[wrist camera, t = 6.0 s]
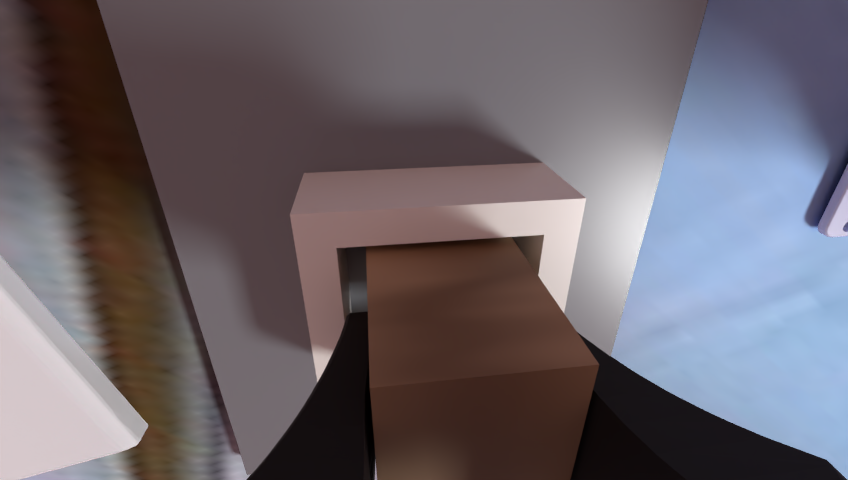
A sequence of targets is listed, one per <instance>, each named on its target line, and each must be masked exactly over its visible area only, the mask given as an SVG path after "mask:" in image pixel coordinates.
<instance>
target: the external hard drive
mask: <svg viewBox="0 0 848 480" xmlns="http://www.w3.org/2000/svg"><path fill="white" fill-rule="evenodd" d="M147 428H148V424H147V423H146V422H145V421H144V419H143V418H142V417H141V416H140V415H139V414H138V413H137V411H136V410H135V409H134V408H133V407H132V406H131V404H130V403H129V402H128V401H127V400H126V399H125V397H124V396H123V395H122V394H121V393H120V392H119V391H118V390H117V388H116V387H115V386H114V385H113V384H112V383H111V382H110V380H109V379H108V378H107V377H106V376H105V375H104V374H103V372H102V371H101V370H100V369H99V368H98V367H97V365H96V364H95V363H94V362H93V361H92V360H91V359H90V357H89V356H88V355H87V354H86V353H85V352H84V351H83V349H82V348H81V347H80V346H79V345H78V344H77V342H76V341H75V340H74V339H73V338H72V337H71V335H70V334H69V333H68V332H67V331H66V330H65V329H64V327H63V326H62V325H61V324H60V323H59V322H58V321H57V319H56V318H55V317H54V316H53V315H52V314H51V312H50V311H49V310H48V309H47V308H46V307H45V305H44V304H43V303H42V302H41V301H40V300H39V299H38V297H37V296H36V295H35V294H34V293H33V292H32V291H31V289H30V288H29V287H28V286H27V285H26V284H25V282H24V281H23V280H22V279H21V278H20V277H19V275H18V274H17V273H16V272H15V271H14V270H13V269H12V267H11V266H10V265H9V264H8V263H7V262H6V260H5V259H4V258H3V257H2V256H1V255H0V480H19V479H23V478H27V477H31V476H34V475H38V474H41V473H45V472H48V471H53V470H57V469H60V468H64V467H68V466H71V465H74V464H78V463H82V462H86V461H89V460H93V459H97V458H100V457H105V456H108V455H111V454H115V453H118V452H121V451H124V450H127V449H130V448H131V447H134V446H136V445H137V444H138V443H139V442H140V440H141V438H142V436H143V435H144V433H145V431H146V429H147Z"/></svg>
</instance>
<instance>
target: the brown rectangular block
mask: <svg viewBox="0 0 848 480" xmlns="http://www.w3.org/2000/svg"><path fill="white" fill-rule="evenodd" d="M366 266H367V303H368V340H369V376H370V396H371V408H372V420H373V432H374V444H375V456H376V468H377V480H570V479H571V475H572V471H573V467H574V463H575V459H576V455H577V451H578V447H579V443H580V439H581V435H582V431H583V427H584V423H585V419H586V415H587V411H588V407H589V403H590V399H591V396H592V392H593V388H594V384H595V380H596V376H597V372H598V368H599V363H598V362H597V360H596V359H595V358H594V356H593V355H592V353H591V352H590V350H589V349H588V347H587V346H586V344H585V343H584V342H583V340H582V339H581V337H580V336H579V334H578V333H577V331H576V330H575V329H574V327H573V326H572V324H571V323H570V321H569V320H568V318H567V317H566V315H565V314H564V313H563V311H562V310H561V308H560V307H559V305H558V304H557V302H556V301H555V300H554V298H553V297H552V295H551V294H550V292H549V291H548V289H547V288H546V286H545V285H544V284H543V282H542V281H541V279H540V278H539V276H538V275H537V273H536V272H535V270H534V269H533V268H532V266H531V265H530V263H529V262H528V260H527V259H526V257H525V256H524V255H523V253H522V252H521V250H520V249H519V247H518V246H517V244H516V243H515V241H514V240H513V239H512V237H502V238H486V239H471V240H455V241H440V242H424V243H409V244H393V245H378V246H366Z"/></svg>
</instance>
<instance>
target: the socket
mask: <svg viewBox="0 0 848 480" xmlns="http://www.w3.org/2000/svg"><path fill="white" fill-rule="evenodd" d="M97 3H98V6H99V9H100V12H101V15H102V19H103V22H104V25H105V28H106V31H107V34H108V38H109V41H110V44H111V47H112V50H113V53H114V57H115V60H116V63H117V66H118V69H119V72H120V75H121V79H122V82H123V85H124V88H125V91H126V94H127V98H128V101H129V104H130V107H131V110H132V113H133V116H134V120H135V123H136V126H137V129H138V132H139V135H140V139H141V142H142V145H143V148H144V151H145V154H146V157H147V161H148V164H149V167H150V170H151V173H152V176H153V180H154V183H155V186H156V189H157V192H158V195H159V198H160V202H161V205H162V208H163V211H164V214H165V217H166V221H167V224H168V227H169V230H170V233H171V236H172V239H173V243H174V246H175V249H176V252H177V255H178V258H179V262H180V265H181V268H182V271H183V274H184V277H185V280H186V284H187V287H188V290H189V293H190V296H191V299H192V303H193V306H194V309H195V312H196V315H197V318H198V321H199V325H200V328H201V331H202V334H203V337H204V340H205V344H206V347H207V350H208V353H209V356H210V359H211V363H212V366H213V369H214V372H215V375H216V378H217V381H218V385H219V388H220V391H221V394H222V397H223V400H224V404H225V407H226V410H227V413H228V416H229V419H230V422H231V426H232V429H233V432H234V435H235V438H236V441H237V445H238V448H239V451H240V454H241V457H242V460H243V463H244V467H245V470H246V473H247V475H248V474H252V473H253V472H254V471H255V470H256V469H257V467H258V466H259V465H260V464H261V463H262V462H263V460H264V459H265V458H266V457H267V455H268V454H269V453H270V452H271V450H272V449H273V448H274V446H275V445H276V444H277V442H278V441H279V440H280V439H281V437H282V436H283V435H284V433H285V432H286V431H287V429H288V428H289V426H290V425H291V424H292V422H293V421H294V419H295V418H296V416H297V415H298V413H299V412H300V410H301V409H302V407H303V406H304V404H305V403H306V401H307V399H308V398H309V396H310V394H311V393H312V391H313V389H314V387H315V386H316V384H317V382H318V380H319V379H320V377H321V375H322V373H323V372H324V370H325V368H326V366H327V364H328V361H329V359H330V357H331V355H332V353H333V351H334V349H335V347H336V344H337V342H338V340H339V337H340V335H341V332H342V329H343V326H344V323H345V319H346V316H347V315H348V314H349V313H356V312H368V303H367V266H366V246H378V245H393V244H409V243H424V242H440V241H455V240H471V239H486V238H502V237H512V239H513V240H514V241H515V243H516V244H517V246H518V247H519V249H520V250H521V252H522V253H523V255H524V256H525V257H526V259H527V260H528V262H529V263H530V265H531V266H532V268H533V269H534V270H535V272H536V273H537V275H538V276H539V278H540V279H541V281H542V282H543V284H544V285H545V286H546V288H547V289H548V291H549V292H550V294H551V295H552V297H553V298H554V300H555V301H556V302H557V304H558V305H559V307H560V308H561V310H562V311H563V313H564V314H565V315H566V317H567V318H568V320H569V321H570V323H571V324H572V326H573V327H574V329H575V330H576V331H577V332H578V333H579V334H581V335H582V336H583V337H584V338H586V339H587V340H588V341H590V342H591V343H593V344H594V345H595V346H597V347H598V348H599V349H601V350H602V351H604V352H605V353H606V354H608V355H609V356H611V353H612V349H613V346H614V342H615V338H616V335H617V331H618V327H619V324H620V320H621V316H622V313H623V309H624V306H625V302H626V298H627V295H628V291H629V287H630V284H631V280H632V276H633V273H634V269H635V265H636V262H637V258H638V255H639V251H640V247H641V244H642V240H643V236H644V233H645V229H646V225H647V222H648V218H649V214H650V211H651V207H652V204H653V200H654V196H655V193H656V189H657V185H658V182H659V178H660V174H661V171H662V167H663V163H664V160H665V156H666V153H667V149H668V145H669V142H670V138H671V134H672V131H673V127H674V123H675V120H676V116H677V112H678V109H679V105H680V102H681V98H682V94H683V91H684V87H685V83H686V80H687V76H688V72H689V69H690V65H691V62H692V58H693V54H694V51H695V47H696V43H697V40H698V36H699V32H700V29H701V25H702V21H703V18H704V14H705V11H706V7H707V3H708V0H97Z"/></svg>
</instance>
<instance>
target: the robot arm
mask: <svg viewBox="0 0 848 480" xmlns="http://www.w3.org/2000/svg"><path fill="white" fill-rule="evenodd" d="M818 231H819V232H820V233H821V234H823V235H825V236H827V237H842V236H848V164H847V166H846V168H845V171H844V173H843V175H842V177H841V179H840V181H839V183H838V185H837V187H836V189H835V191H834V193H833V195H832V197H831V199H830V201H829V203H828V205H827V208H826V210H825V212H824V214H823V216H822V218H821V220H820V222H819V225H818ZM577 333H578V332H577ZM578 334H579V333H578ZM579 336H580V337H581V339H582V340H583V342H584V343H585V344H586V346H587V347H588V349H589V350H590V352H591V353H592V355H593V356H594V358H595V359H596V360H597V362H598V363H599V368H598V372H597V376H596V380H595V384H594V388H593V392H592V396H591V399H590V403H589V407H588V411H587V415H586V419H585V423H584V427H583V431H582V435H581V439H580V443H579V447H578V451H577V455H576V459H575V463H574V467H573V471H572V475H571V479H570V480H847V479H846V478H845V477H844V476H843V475H842V474H841V473H840V472H839V471H838V470H836V469H835V468H834V467H833V466H832V465H831V464H830V463H829V462H828V461H827V460H825V459H822V458H820V457H817V456H814V455H812V454H809V453H806V452H803V451H801V450H798V449H795V448H793V447H790V446H787V445H785V444H782V443H779V442H776V441H774V440H771V439H768V438H766V437H763V436H761V435H759V434H756V433H754V432H752V431H749V430H747V429H745V428H742V427H740V426H737V425H735V424H733V423H730V422H728V421H726V420H724V419H722V418H720V417H717V416H715V415H713V414H711V413H709V412H707V411H705V410H703V409H701V408H699V407H697V406H695V405H693V404H691V403H689V402H687V401H685V400H683V399H681V398H679V397H677V396H675V395H673V394H671V393H669V392H668V391H666V390H664V389H662V388H660V387H659V386H657V385H655V384H654V383H652V382H650V381H649V380H647V379H645V378H643V377H642V376H640V375H638V374H637V373H635V372H634V371H632V370H630V369H629V368H627V367H626V366H624V365H623V364H621V363H620V362H618V361H617V360H615V359H614V358H612V357H611V356H609V355H608V354H606V353H605V352H604V351H602V350H601V349H599V348H598V347H597V346H595V345H594V344H593V343H591V342H590V341H588V340H587V339H586V338H584V337H583V336H582V335H581V334H579ZM375 459H376V456H375V444H374V432H373V420H372V408H371V396H370V376H369V340H368V312H356V313H349V314H348V315H347V316H346V319H345V323H344V326H343V329H342V332H341V335H340V337H339V340H338V342H337V344H336V347H335V349H334V351H333V353H332V355H331V357H330V359H329V361H328V364H327V366H326V368H325V370H324V372H323V373H322V375H321V377H320V379H319V380H318V382H317V384H316V386H315V387H314V389H313V391H312V393H311V394H310V396H309V398H308V399H307V401H306V403H305V404H304V406H303V407H302V409H301V410H300V412H299V413H298V415H297V416H296V418H295V419H294V421H293V422H292V424H291V425H290V426H289V428H288V429H287V431H286V432H285V433H284V435H283V436H282V437H281V439H280V440H279V441H278V442H277V444H276V445H275V446H274V448H273V449H272V450H271V452H270V453H269V454H268V455H267V457H266V458H265V459H264V460H263V462H262V463H261V464H260V465H259V466H258V467H257V469H256V470H255V471H254V472H253V473H252V474H251V475H250V476H249V478H248V479H247V480H375Z"/></svg>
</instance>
